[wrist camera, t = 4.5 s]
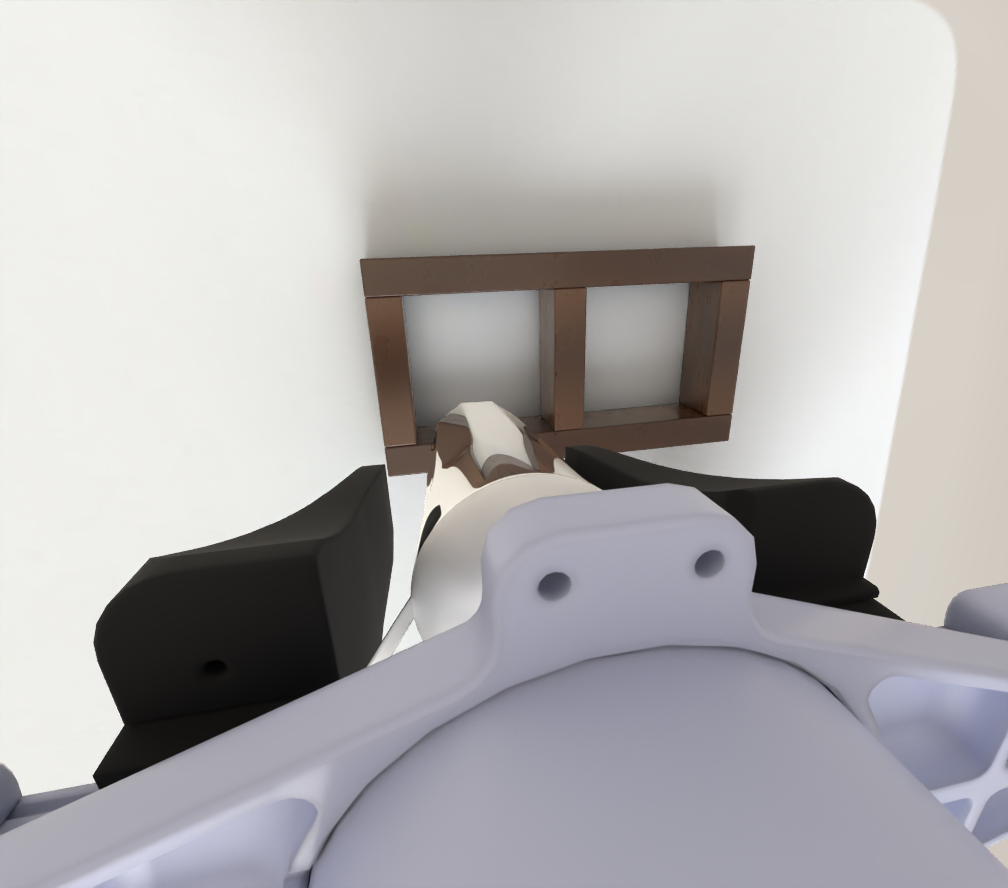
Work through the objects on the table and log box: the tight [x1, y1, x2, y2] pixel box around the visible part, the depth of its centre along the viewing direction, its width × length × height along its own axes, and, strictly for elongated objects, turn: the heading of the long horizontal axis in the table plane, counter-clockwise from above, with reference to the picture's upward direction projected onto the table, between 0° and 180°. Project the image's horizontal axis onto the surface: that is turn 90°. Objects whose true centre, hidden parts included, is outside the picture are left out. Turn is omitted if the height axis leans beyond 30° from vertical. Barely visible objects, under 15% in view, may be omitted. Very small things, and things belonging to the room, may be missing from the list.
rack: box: [360, 245, 755, 477], centre depth 22 cm, size 9×17×3 cm, turn 92°
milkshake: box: [365, 401, 603, 668], centre depth 12 cm, size 4×5×10 cm
